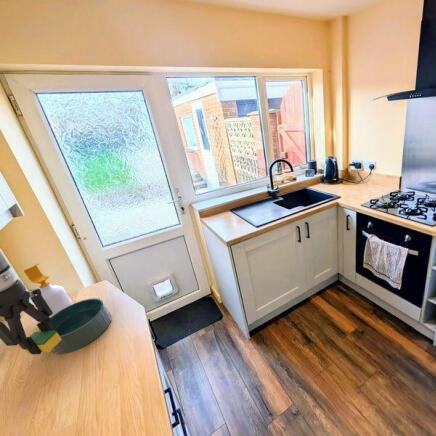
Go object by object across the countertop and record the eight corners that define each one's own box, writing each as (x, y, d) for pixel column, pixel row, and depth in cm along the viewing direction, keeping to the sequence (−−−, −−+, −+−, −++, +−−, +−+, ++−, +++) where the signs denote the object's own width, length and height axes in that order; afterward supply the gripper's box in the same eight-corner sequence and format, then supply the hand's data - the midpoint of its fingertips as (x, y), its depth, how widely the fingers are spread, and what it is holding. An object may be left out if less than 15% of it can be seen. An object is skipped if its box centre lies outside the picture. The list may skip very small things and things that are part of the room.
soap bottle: (56, 320, 104) (24, 273, 93) (43, 316, 107) (11, 270, 96) (79, 305, 111) (51, 260, 101) (66, 302, 114) (38, 258, 104)
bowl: (36, 356, 88) (23, 341, 85) (78, 314, 106) (69, 300, 102) (88, 352, 87) (78, 336, 84) (121, 310, 105) (114, 296, 102)
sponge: (27, 353, 75) (20, 344, 73) (41, 340, 79) (34, 331, 77) (49, 352, 74) (42, 343, 73) (62, 339, 78) (55, 330, 77)
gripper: (-25, 310, 58) (28, 372, 68) (43, 266, 74) (78, 322, 84) (-54, 312, 59) (3, 374, 69) (19, 268, 75) (57, 323, 85)
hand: (44, 345), depth 76 cm, fingers closed on sponge, 4 cm apart
